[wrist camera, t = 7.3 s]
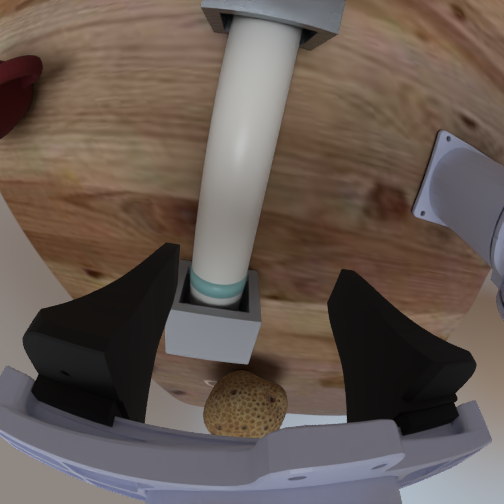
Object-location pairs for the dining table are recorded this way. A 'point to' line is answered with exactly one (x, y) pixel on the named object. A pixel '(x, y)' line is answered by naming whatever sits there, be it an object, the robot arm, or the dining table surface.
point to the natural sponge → (245, 406)
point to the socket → (213, 324)
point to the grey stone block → (281, 16)
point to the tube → (240, 156)
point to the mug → (16, 89)
